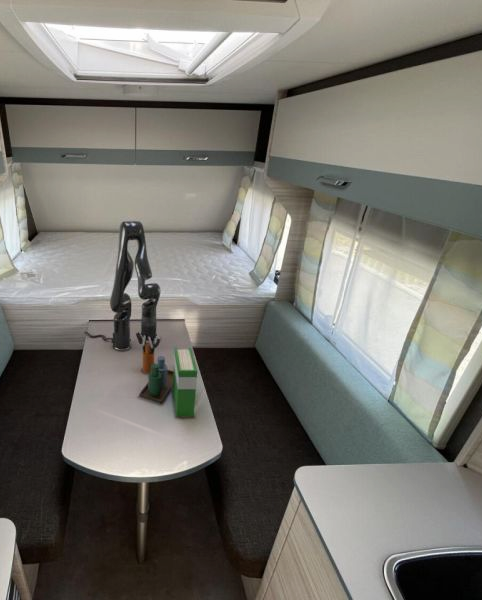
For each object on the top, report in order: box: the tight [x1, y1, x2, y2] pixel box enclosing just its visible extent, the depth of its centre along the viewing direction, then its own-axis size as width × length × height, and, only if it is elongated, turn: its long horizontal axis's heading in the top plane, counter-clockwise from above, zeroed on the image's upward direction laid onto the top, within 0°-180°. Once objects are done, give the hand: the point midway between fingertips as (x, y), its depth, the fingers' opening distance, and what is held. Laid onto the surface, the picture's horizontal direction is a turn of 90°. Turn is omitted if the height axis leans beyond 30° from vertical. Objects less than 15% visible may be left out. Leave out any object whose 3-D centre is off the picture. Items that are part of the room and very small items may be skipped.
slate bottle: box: [157, 355, 168, 390], centre depth 155 cm, size 6×6×16 cm
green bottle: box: [147, 363, 161, 398], centre depth 150 cm, size 6×6×16 cm
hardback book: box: [172, 347, 198, 418], centre depth 143 cm, size 18×7×24 cm, turn 1°
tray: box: [138, 369, 174, 405], centre depth 158 cm, size 11×23×2 cm, turn 153°
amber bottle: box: [142, 341, 155, 374], centre depth 167 cm, size 6×6×16 cm
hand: (148, 352), depth 166 cm, fingers closed on amber bottle, 3 cm apart
